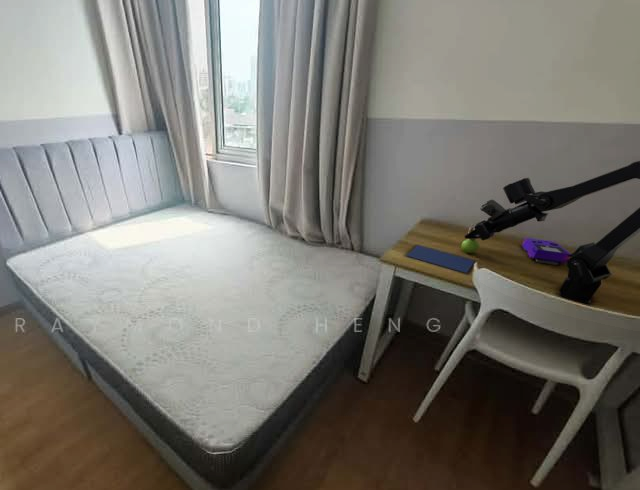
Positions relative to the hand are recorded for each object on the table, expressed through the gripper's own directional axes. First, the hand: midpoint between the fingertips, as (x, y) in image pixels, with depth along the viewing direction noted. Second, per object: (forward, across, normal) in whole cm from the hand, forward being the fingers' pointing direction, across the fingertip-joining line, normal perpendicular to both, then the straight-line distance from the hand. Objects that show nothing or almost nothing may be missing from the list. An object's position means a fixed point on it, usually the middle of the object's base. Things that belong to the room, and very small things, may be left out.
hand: (468, 235), depth 117 cm
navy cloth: (+6, +13, +3) cm, 15 cm away
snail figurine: (+4, 0, +6) cm, 7 cm away
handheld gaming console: (-8, -19, +18) cm, 28 cm away
